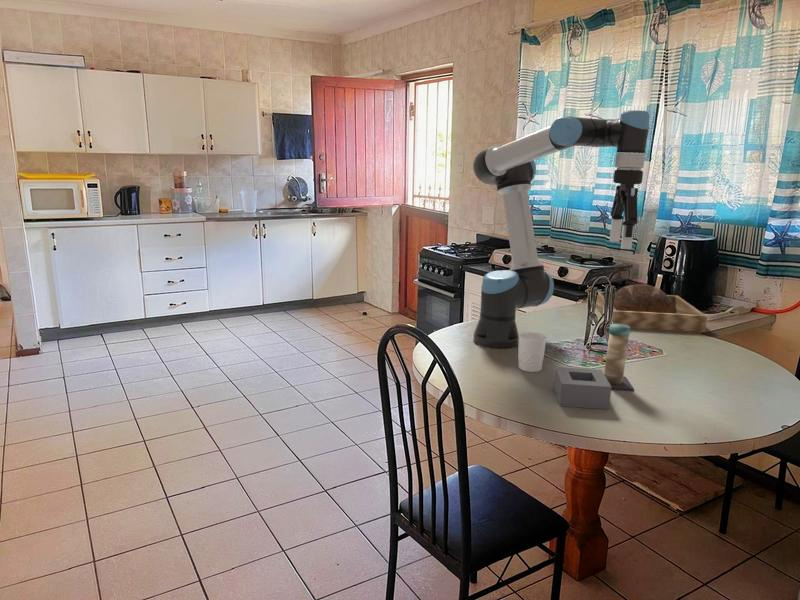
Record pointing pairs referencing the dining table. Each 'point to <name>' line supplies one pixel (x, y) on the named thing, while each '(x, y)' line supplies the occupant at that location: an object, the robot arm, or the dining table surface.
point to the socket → (582, 388)
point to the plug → (616, 353)
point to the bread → (643, 299)
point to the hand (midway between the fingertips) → (619, 245)
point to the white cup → (531, 351)
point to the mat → (623, 385)
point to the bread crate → (660, 317)
